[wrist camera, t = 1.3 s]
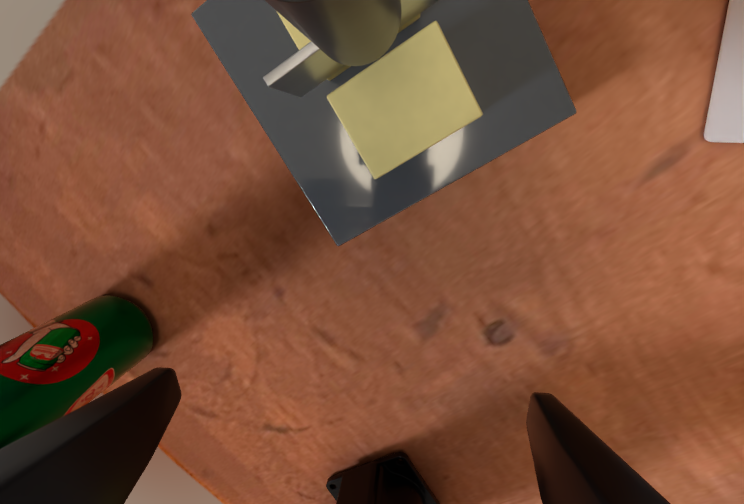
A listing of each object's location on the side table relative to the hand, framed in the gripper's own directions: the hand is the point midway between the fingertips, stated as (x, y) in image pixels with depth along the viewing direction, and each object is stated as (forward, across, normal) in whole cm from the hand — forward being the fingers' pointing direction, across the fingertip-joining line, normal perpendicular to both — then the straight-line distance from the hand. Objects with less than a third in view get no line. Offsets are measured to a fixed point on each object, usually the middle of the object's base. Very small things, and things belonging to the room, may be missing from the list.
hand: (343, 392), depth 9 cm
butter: (+10, 0, -8) cm, 13 cm away
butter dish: (+13, 0, -8) cm, 15 cm away
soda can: (+12, +18, +7) cm, 23 cm away
